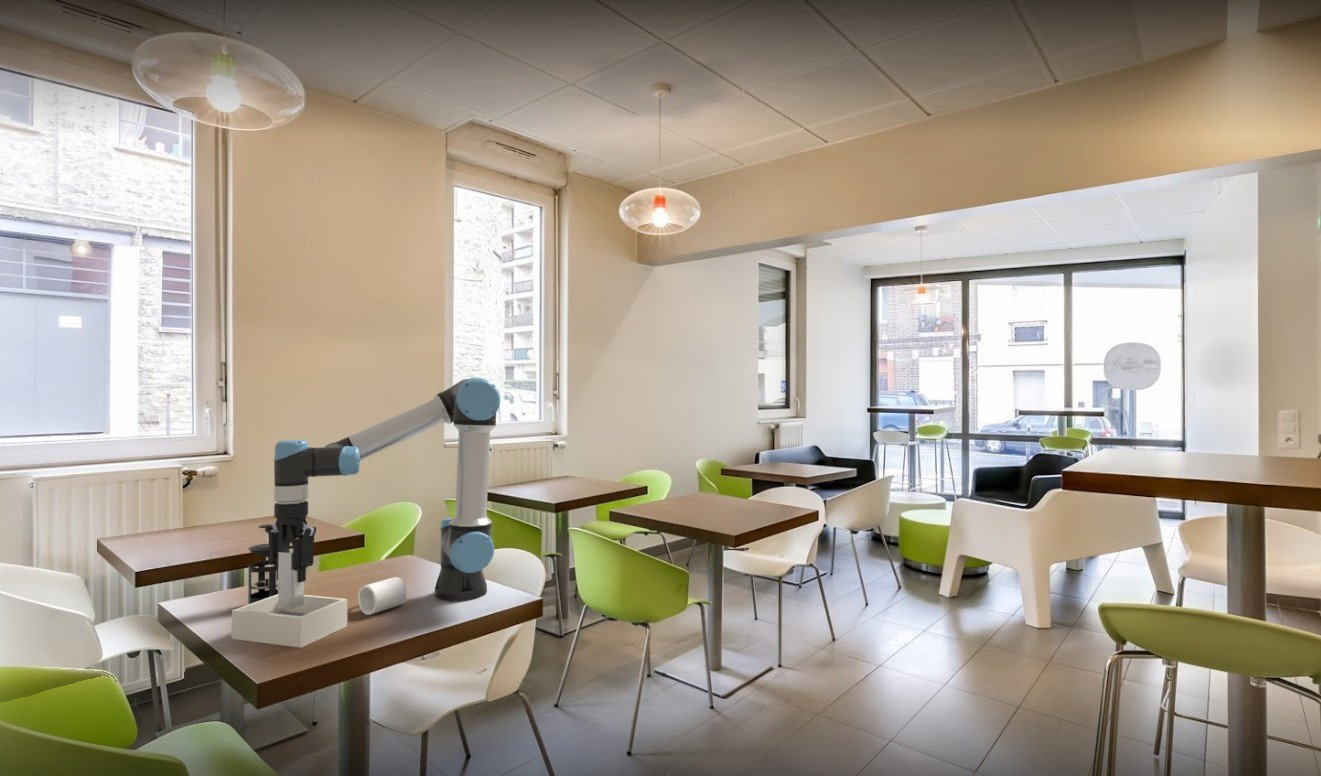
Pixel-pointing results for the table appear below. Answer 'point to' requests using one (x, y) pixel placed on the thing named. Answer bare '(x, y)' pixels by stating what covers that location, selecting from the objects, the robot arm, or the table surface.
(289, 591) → the peg
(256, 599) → the french press
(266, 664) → the table surface
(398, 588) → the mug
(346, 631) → the table surface
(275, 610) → the box
